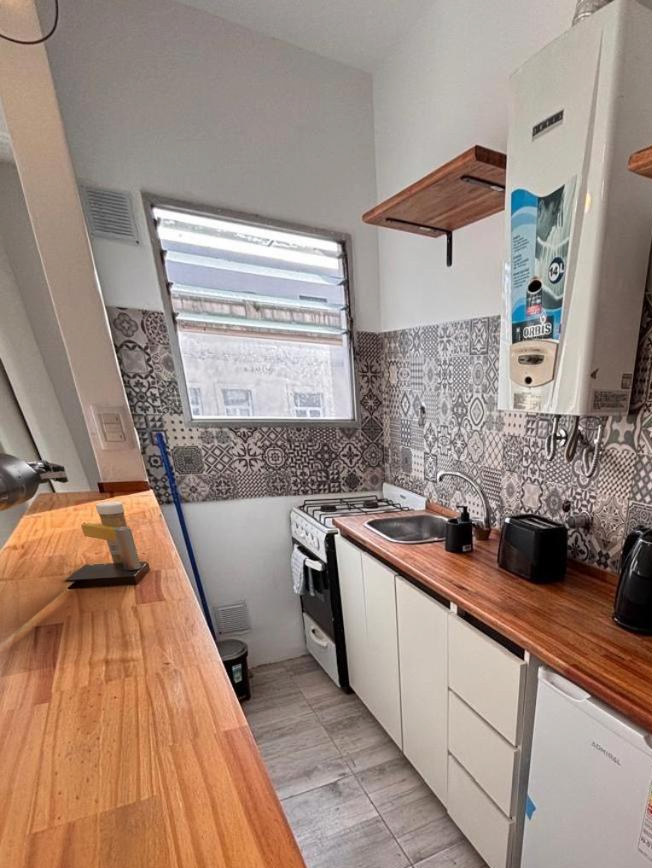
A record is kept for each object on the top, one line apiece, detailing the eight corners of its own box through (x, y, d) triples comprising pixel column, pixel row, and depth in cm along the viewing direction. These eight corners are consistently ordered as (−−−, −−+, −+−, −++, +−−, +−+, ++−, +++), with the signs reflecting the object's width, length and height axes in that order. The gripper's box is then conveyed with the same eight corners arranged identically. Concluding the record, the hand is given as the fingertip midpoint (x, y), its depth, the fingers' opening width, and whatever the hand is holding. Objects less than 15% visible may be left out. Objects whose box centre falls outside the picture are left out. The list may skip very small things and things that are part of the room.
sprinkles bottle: (143, 564, 112) (127, 501, 106) (127, 570, 108) (109, 505, 102) (125, 562, 113) (108, 500, 107) (108, 568, 109) (89, 504, 103)
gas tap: (89, 562, 106) (77, 523, 103) (102, 559, 108) (91, 520, 105) (131, 571, 102) (119, 530, 99) (144, 567, 104) (133, 527, 101)
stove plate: (67, 589, 97) (64, 579, 97) (87, 573, 106) (84, 564, 105) (136, 584, 101) (134, 575, 100) (150, 569, 109) (147, 560, 108)
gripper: (38, 456, 76) (82, 444, 91) (-74, 456, 73) (-10, 443, 87) (55, 507, 80) (94, 488, 94) (-52, 509, 76) (6, 488, 91)
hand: (44, 466), depth 91 cm, fingers closed
